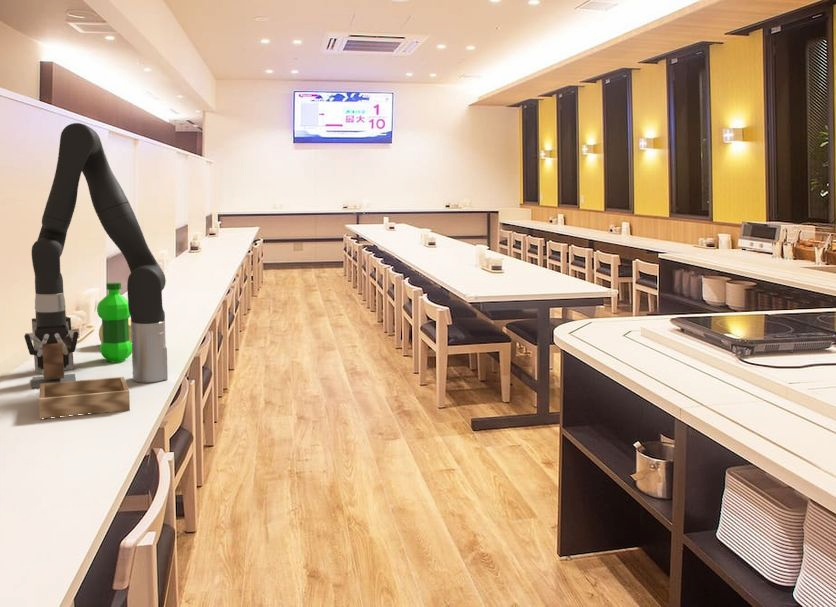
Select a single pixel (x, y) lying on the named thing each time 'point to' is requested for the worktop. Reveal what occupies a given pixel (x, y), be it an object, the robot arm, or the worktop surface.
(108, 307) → the plastic bottle
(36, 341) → the coffee box
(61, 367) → the walnut block
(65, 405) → the caddy
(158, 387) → the worktop surface
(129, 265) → the robot arm
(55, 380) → the slate mat
